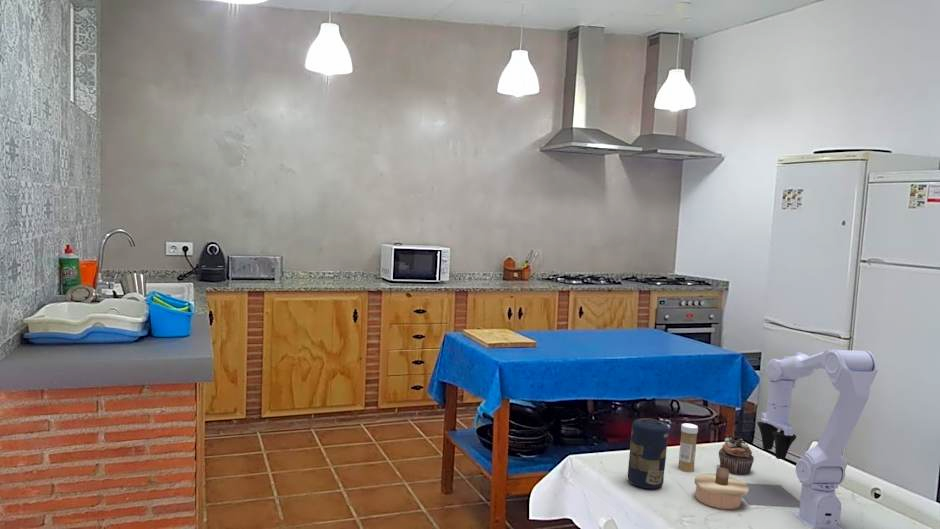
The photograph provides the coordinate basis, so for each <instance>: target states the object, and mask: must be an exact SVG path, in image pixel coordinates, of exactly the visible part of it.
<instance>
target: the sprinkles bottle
mask: <svg viewBox="0 0 940 529" xmlns="http://www.w3.org/2000/svg"><path fill="white" fill-rule="evenodd" d="M680 426H681V427H680V434H681V435H680V442H679V455H678V466H677V469H678V470H679V471H681V472H685V473H694V472H695V462H696V453H697V452H696V449H697V448H696V447H697V437H698V436H697V435H698V432H699V427H698V425H696V424H693V423H687V422H685V423H681V425H680Z"/></svg>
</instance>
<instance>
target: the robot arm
mask: <svg viewBox="0 0 940 529" xmlns="http://www.w3.org/2000/svg"><path fill="white" fill-rule="evenodd" d="M818 369H819V370H820V369H824V370H825V372H826V374H827V376H828V378H829V380H830V383H831V384H832V386H833V389H835V390H836V391H838V392H839V396H838V398H837V400H836V403H835V404H834V407H833V409H832V411H831V413H830V416H829V418H828V420H827V422H826V425H825V426H824V428H823V431H822V432H821V434H820V438H819V439H818V442H817V444H816V445H815V446H813V447H811V448H809V449H807V450H806V451H805V452H804V453H803V455H802V456H801V457H800V458H799V459H797V461H796V464H795V474H796V476H797V478H798V480H799V483H800V484H801V491H800V492H801V493H800V500H799V501H800V508H799V509H798V511H797V510H792V511H791V512H792V514H794V515H795V516H796V517H797V518H799V519H800V520H801V522H803V523H804V524H805V525H806V526H807V527H808V528H810V529H811V528H812V529H843V528H842V527H841V526H840V523H841V514H842V512H841V511H842V503H841V500H840V499H839V498H838V496H837V494H836V490H837V489H838V488H839V485H840V484H842V483H843V482H844V481H845V477H846V469H847V466H848V462H847V460H846V458H845V457H844V455H843V453H844V450H845V449H846V446H847V444H848V442H849V440H850V438H851V436H852V433H853V431H854V429H855V427H856V426H857V423H858V422H859V419H860V417H861V415H862V413H863V411H864V409H865V406H866V404H867V402H868V400H869V398H870V392H871V386H872V384H873V382H874V380H875V379H876V377H877V374H878V372H879V367H878V364H877V360H876V357H875V356H874V354H873V353H872V352H871V351H869V350H866V349H864V350H862V349H861V350H846V349H845V350H844V349H836V348H832V349H824V350H823V351H821V352H817V353H815V354H813V355H808V354H806V353H803V352H795V353H794V355H792V356H787V355H786V356H783V358H782V359H777V358H771V359H769V361H767V362H766V365H765V373H766V376H767V378H768V380H769V384H768V393H767V400H766V401H767V402H766V404H767V405H766V412H761V417H760V419H761V420H760V421H757V422H756V423H757V424H756V425H757V426H758V429H759V432H760V436H761V442H762V449H763V450H773V447H775V448H774V449H775V451H774V452H775V458H776V459H777V460H785V459H786V457H787V454H788V451H789V449H790V447H791V445H792V444H793V442H795V440H796V439H797V434H794V429H795V428H794V427H792V425H791V422H790V416H791V404H792V394H793V389H794V388H796V386H795V385H796V382H797V380H798V379H802V378H806V377H809V376H810V377H811V375H812V374H813V373H814V372H815V370H818ZM778 430H779V431H778Z"/></svg>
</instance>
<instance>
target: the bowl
mask: <svg viewBox="0 0 940 529" xmlns="http://www.w3.org/2000/svg"><path fill="white" fill-rule="evenodd" d="M695 498H696V499H697V500H698V501H699V502H700V503H702V504H705V505H706V506H709V507H712V508H718V509H721V510H724V509H725V510H735V509H739V508H741V505H742V500H743V498H742V496H724V495H719V494H714V493H711V492H708V491H705V490H703V489H701V488H700V487H698V486H697V485H696V486H695Z"/></svg>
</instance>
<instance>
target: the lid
mask: <svg viewBox="0 0 940 529" xmlns="http://www.w3.org/2000/svg"><path fill="white" fill-rule="evenodd" d="M729 475H730V473H729V470H728V469H726V468H720V467H717V468H716V471H715V473H702V474H700V473H699V474H698V475H696V476H695V477H694V484H695V485H696V486H698V487H700V488H701V489H703V490H705V491H708V492H711V493H714V494H719V495H724V496H744V495H746V494H748V492H749V487H748V485H747V484H745V483H746V482H743V481H742V480H740V479H738V478H735V477H732V476H729Z"/></svg>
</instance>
